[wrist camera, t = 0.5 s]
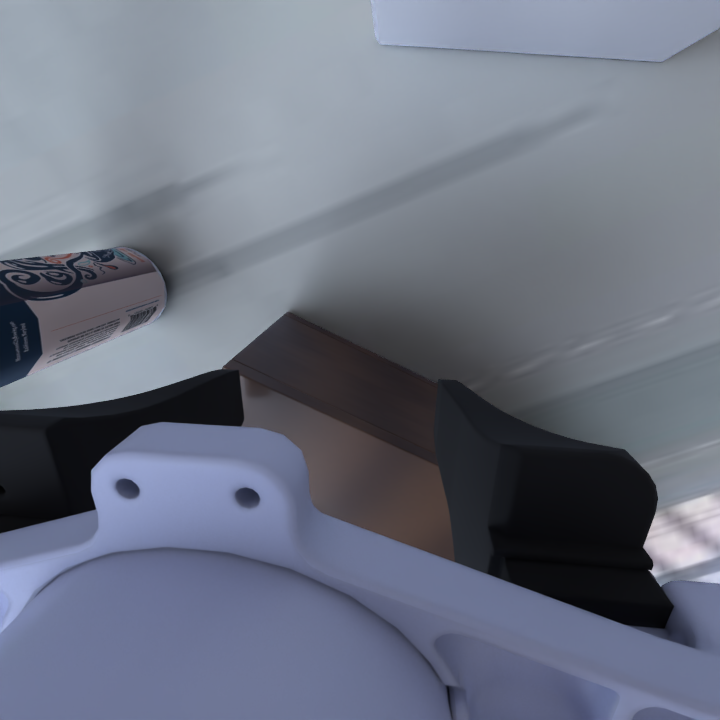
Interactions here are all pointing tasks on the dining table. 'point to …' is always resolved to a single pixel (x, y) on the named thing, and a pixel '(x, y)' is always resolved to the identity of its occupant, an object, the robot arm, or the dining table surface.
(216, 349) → the dining table surface
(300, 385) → the cabinet
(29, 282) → the spice jar
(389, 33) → the gable box
